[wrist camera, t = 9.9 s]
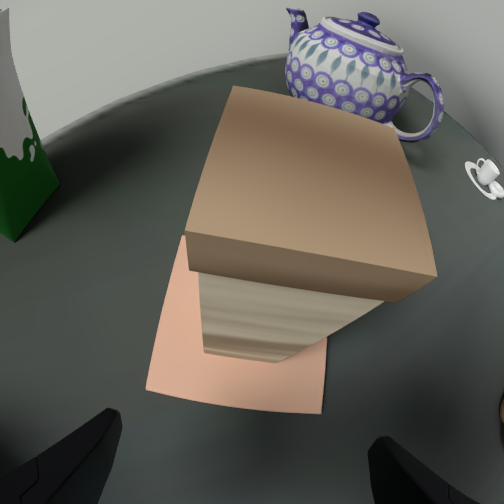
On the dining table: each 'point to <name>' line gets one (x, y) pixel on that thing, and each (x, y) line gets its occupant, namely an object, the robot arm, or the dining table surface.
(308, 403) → the terracotta tile
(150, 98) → the dining table surface
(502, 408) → the alarm clock
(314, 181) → the ash post
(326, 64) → the teapot
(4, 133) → the milk carton
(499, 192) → the teacup and saucer
